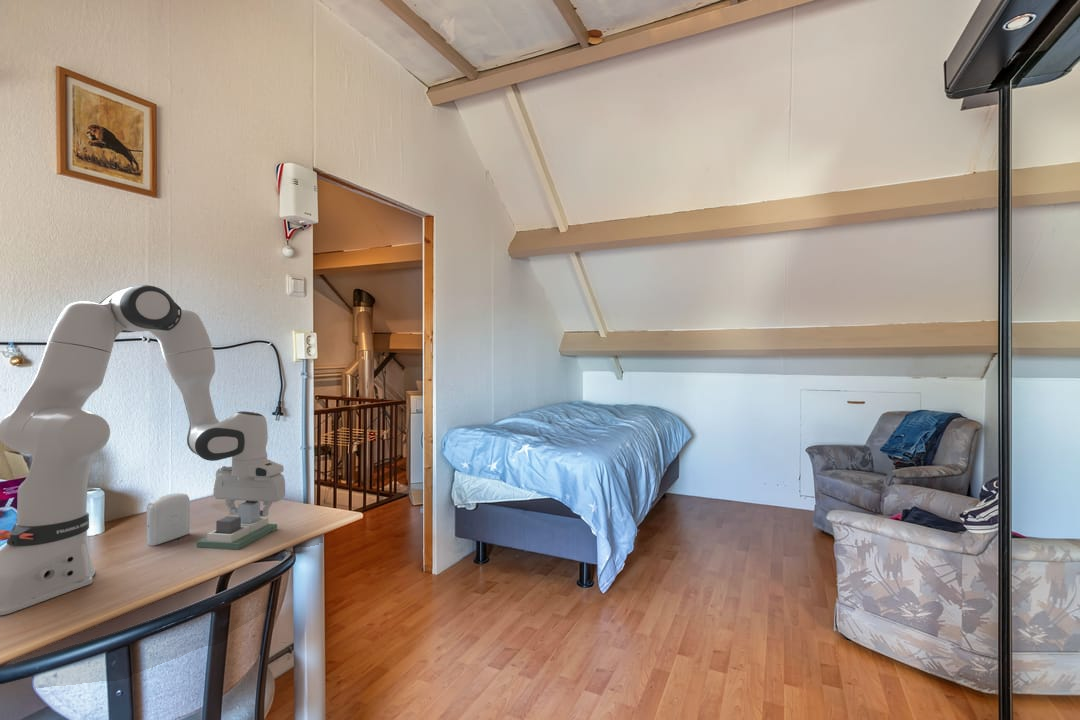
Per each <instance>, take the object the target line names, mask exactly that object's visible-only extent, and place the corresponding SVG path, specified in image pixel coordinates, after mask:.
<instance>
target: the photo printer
mask: <svg viewBox="0 0 1080 720" xmlns="http://www.w3.org/2000/svg"><path fill="white" fill-rule="evenodd" d="M190 501H191V500H190V497H189V495H188V494H187V493H181V492H180V493H178V492H177V493H169V494H165V495H162V496H159V497H158V498H155V499H154V500H152V501H150V502H149V503H148V504H147V506H146V544H147V546H149V547H150V546H151V547H153V546H158V545H162V544H163V543H166V542H169V541H172V540H176V539H178V538H181V537H184V536H186V535H189V533H190V523H191V522H190V513H191V511H190V510H191V509H190V508H191V507H190V503H191V502H190Z"/></svg>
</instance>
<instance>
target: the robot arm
mask: <svg viewBox="0 0 1080 720" xmlns="http://www.w3.org/2000/svg"><path fill="white" fill-rule="evenodd" d="M135 332H149V333H151V334H152V335H153V336H154V337H155V338H156V340H157V342H158V344H160V345H159V346H160V350H161V354H162V357H163V361H164V363H165V366H166V369H167V370H168V373H169V374H170V376H171V378H172V379H173V382H174V383H175V385H176V386H177V387H178V389H179V391H180V393H181V395H182V398H183V402H184V405H185V409H186V412H187V413H186V414H187V417H188V422H189V426H188V433H187V436H186V444H187V447H188V449H189V450H190V451H191V452H192V453H193V454H195V455H197V456H199V457H200V458H201V459H203V460H205V461H209V462H213V461H214V462H215V461H220V460H224V459H227V458H228V459H230V458H231V466H220V467H219V468H218V469H217V470H216V472H215V480H214V485H213V491H212V492H213V495H212V496H213V497H214V498H215V500H224V501H225V505H226V506H227V508H228V510H229V512H228V513H229V516H236V515H238V506H237V507H236V505H235V502H236V501H244V502H246V501H258V502H262V505H263V506H264V507H263V509H260V517H268V516H269V510H270V508H271V506H272V505H273V503H277V502H279V501H282V500H283V499H284V497H285V495H286V479H285V476H284V475H283V473H284V470H285V468H284V465H283V464H281V463H277V462H275V461H272V460H270V459H269V458H268V452H267V445H268V439H269V438H268V437H269V435H268V433H269V432H268V422H267V418H266V417H265V416H264V415H263V414H261V413H258V412H253V411H246V410H245V411H237V412H235V413H234V414H233V415H232V416H230V417H228V418H226V419H224V420H222V421H219V420H218V418H217V416H216V413H215V409H214V405H213V401H212V397H211V393H210V392H211V391H210V385H211V381H212V379H213V377H214V375H215V372H216V360H215V354H214V348H213V347H212V343H211V340H210V339H211V338H210V336H209V334H208V331H207V329H206V327H205V324H204V323H203V321H202V319H201V318H200V316H199V314H197V313H196V312H193V311H191V310H187V309H182V308H181V306H179V305H178V304H177V302H175V300H174V298H173V297H171V296H170V294H169V293H168V292H166V291H165V290H164V289H162V288H160V287H158V286H154V285H146V284H141V285H135V286H131V287H125V288H122V289H120V290H118V291H115V292H113V293H112V294H110V295H108V296H107V297H105V298H104V299H103V300H101V301H100V302H99V303H96V302H92V301H75V302H71V303H69V304H67V305H66V306H65V307H64V309H63V311H61V313H60V315H59V317H58V318H57V320H56V322H55V324H54V326H53V327H52V330H51V332H50V335H49V336H48V340H47V342H46V346H45V349H44V352H43V356H42V359H41V361H40V364H39V366H38V370H37V373H36V374H35V376H34V379H33V380H32V383H31V384H30V386H29V388H28V389H27V391H26V392H25V393H24V395H23V397H22V398H21V400H20V401H19V403H18V404H17V405H16V407H15V408H14V409H13V410H12V411H11V412H10V413H8V414H7V415H6V416H5V417H4V418H3V419H2V420H1V422H0V441H1V443H2V444H4V445H5V446H6V447H8V448H10V449H11V450H13V451H15V452H17V453H20V454H23V455H29V456H31V455H32V461H31V463H30V464H31V465H30V467H29V470H28V473H27V476H26V478H25V479H24V481H22V482H21V483H20V485H19V486H18V489H17V499H16V500H17V510H16V523H15V524H14V525H13V527H12V529H11V531H10V530H6V529H5V530H3V529H0V541H6V545H4V547H2V548H1V549H0V616H4V615H5V616H6V615H8V614H12V613H14V612H18V611H20V610H23V609H25V608H28V607H31V606H33V605H37V604H39V603H42V602H44V601H47V600H50V599H53V598H55V597H58V596H61V595H63V594H66V593H69V592H72V591H75V590H77V589H79V588H83V587H86V586H88V585H91V584H93V582H94V579H93V577H94V575H95V574H96V570H95V568H94V565H93V562H92V559H91V554H90V547H89V543H88V542H89V541H88V530H89V528H90V513H89V512H88V511H87V508H88V507H87V505H88V484H89V483H88V482H89V477H90V472H91V469H92V467H93V463H94V461H95V459H96V457H97V455H98V453H99V452H100V451H101V450H102V449H103V448H104V447H105V446H106V445H107V443H108V441H109V439H110V436H111V428H110V425H109V423H108V421H107V420H106V419H105V418H104V417H102V416H100V415H99V414H96V413H94V412H91V411H89V410H86V409H83V406H84V405H85V403H86V402H87V401H88V399H89V398H90V396H92V394H93V393H94V392H95V391H97V390H99V388H100V387H101V386H102V385H103V381H104V378H105V375H106V373H107V369H108V365H109V363H110V362H109V361H110V358H111V355H112V351H113V348H114V342H115V341H116V339H117V337H118V336H119V335H120V334H121V333H135Z"/></svg>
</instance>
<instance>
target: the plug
mask: <svg viewBox="0 0 1080 720" xmlns="http://www.w3.org/2000/svg"><path fill="white" fill-rule="evenodd" d="M237 508H238V514H237V517H241V524H253V523H255V522H257V521H259V520H260V510H261V501H243V502H242V503H240V504H237Z"/></svg>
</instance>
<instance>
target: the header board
mask: <svg viewBox="0 0 1080 720" xmlns="http://www.w3.org/2000/svg"><path fill="white" fill-rule="evenodd" d="M215 525H216V526H215V527H216V529H214V530H212V531H209V532H208V533H206V536H205V537H204V538H201V539H198V540H197V541H196V548H203V549H204V548H205V549H222V550H223V549H224V550H236V551H237V550H241V549H242V548H244V547H246V546H248V545H250V544H252V543H253V542H256V541H257V540H260V539H261V538H263V537H265V536H267V535H269V534H270V533H269V532H271V531H272V532H274V531H275V530H274V529H276V528H277V529H278V524H277V523H269V517H268V516H266V517H260V520H259V521H257V522H255V523H253V524H241V517H238V516H230V515H229V516H228V515H227V516H225V517H223V518H219V519H218V520H216V524H215ZM277 529H276V530H277ZM273 530H274V531H273ZM272 532H271V533H272ZM268 533H269V534H268ZM266 534H267V535H266Z"/></svg>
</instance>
